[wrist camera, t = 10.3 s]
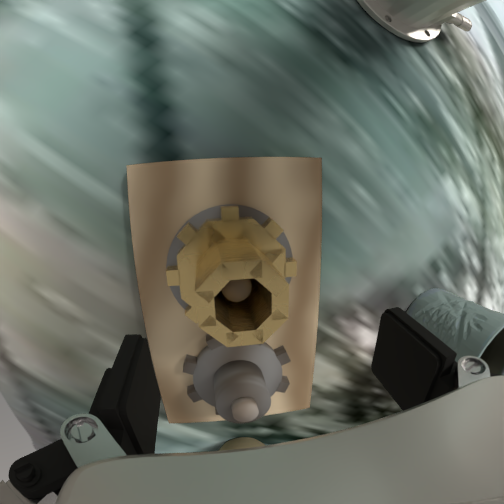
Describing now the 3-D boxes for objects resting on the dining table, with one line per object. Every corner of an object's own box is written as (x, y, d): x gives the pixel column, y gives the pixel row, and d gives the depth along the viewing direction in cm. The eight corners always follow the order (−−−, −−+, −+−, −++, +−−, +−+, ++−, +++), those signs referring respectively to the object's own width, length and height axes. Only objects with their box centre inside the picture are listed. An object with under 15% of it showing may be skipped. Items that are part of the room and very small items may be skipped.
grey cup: (382, 324, 29) (451, 385, 18) (441, 262, 29) (520, 298, 17) (410, 368, 32) (465, 423, 21) (461, 314, 32) (523, 354, 20)
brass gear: (292, 203, 23) (329, 214, 16) (291, 319, 25) (320, 364, 18) (162, 210, 21) (145, 224, 15) (175, 329, 24) (169, 380, 17)
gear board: (314, 158, 24) (355, 153, 17) (305, 399, 30) (327, 444, 23) (131, 166, 22) (102, 161, 15) (169, 413, 28) (166, 464, 21)
